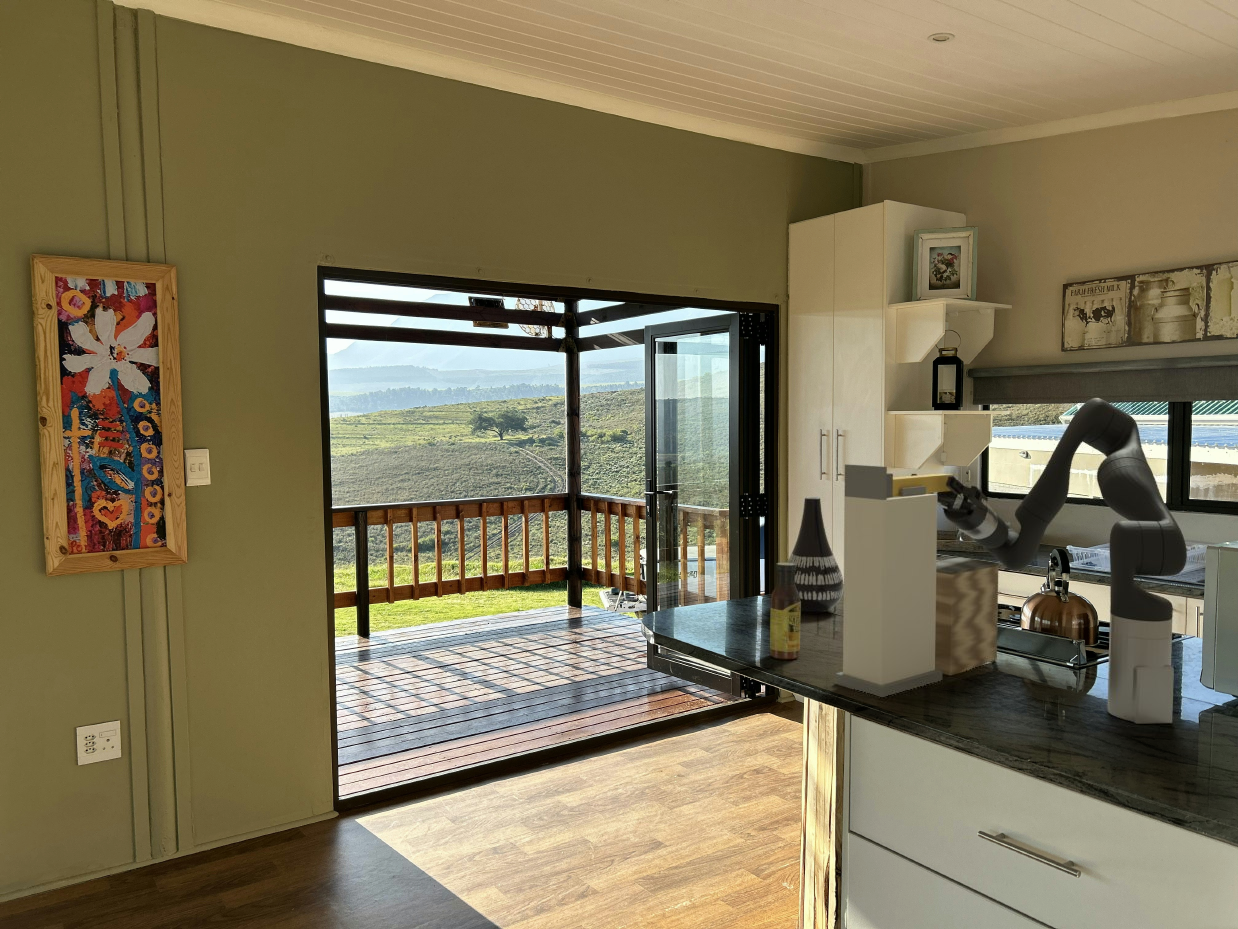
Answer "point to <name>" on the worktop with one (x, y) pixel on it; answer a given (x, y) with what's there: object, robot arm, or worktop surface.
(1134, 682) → the robot arm
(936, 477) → the plug rod
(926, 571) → the socket tower
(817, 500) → the vase
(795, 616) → the sauce bottle
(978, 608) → the block
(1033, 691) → the worktop surface
